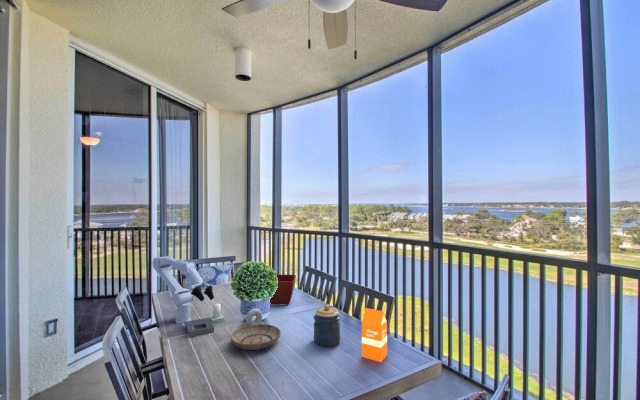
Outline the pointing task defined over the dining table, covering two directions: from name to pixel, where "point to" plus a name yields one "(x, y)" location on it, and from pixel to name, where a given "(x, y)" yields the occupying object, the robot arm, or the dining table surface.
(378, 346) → the orange juice
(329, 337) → the canister
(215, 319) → the pale green block
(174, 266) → the robot arm
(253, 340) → the brown shallow round bowl
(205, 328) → the hole plate
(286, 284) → the plant pot
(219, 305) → the barrel peg
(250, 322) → the grey stone ring
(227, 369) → the dining table surface
